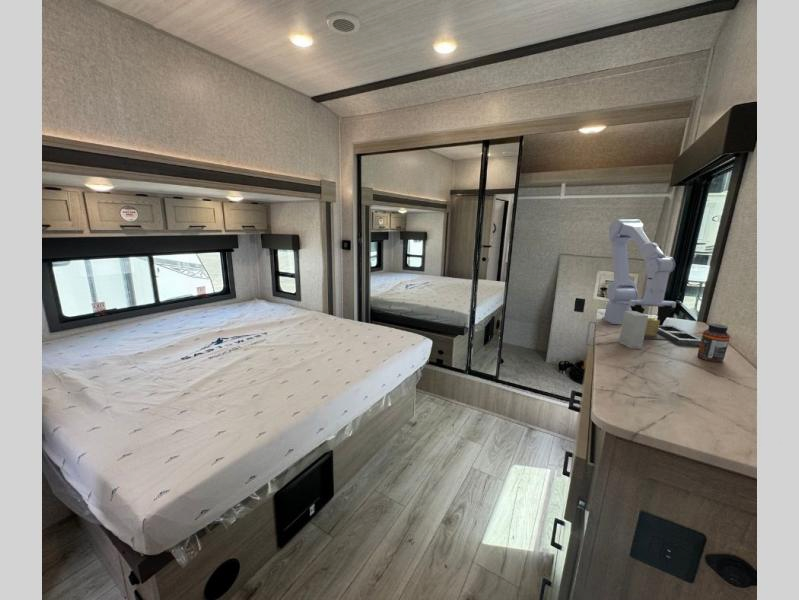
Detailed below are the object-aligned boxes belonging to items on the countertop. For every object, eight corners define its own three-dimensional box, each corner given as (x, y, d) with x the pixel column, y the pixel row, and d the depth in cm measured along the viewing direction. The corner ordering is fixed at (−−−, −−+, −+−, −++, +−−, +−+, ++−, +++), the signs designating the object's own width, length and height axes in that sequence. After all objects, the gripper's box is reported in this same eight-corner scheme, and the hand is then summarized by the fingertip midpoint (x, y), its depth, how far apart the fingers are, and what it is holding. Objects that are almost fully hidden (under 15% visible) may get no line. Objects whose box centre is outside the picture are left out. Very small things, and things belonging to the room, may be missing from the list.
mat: (626, 330, 122) (626, 329, 122) (651, 331, 121) (651, 330, 121) (639, 338, 114) (639, 337, 114) (666, 340, 112) (666, 339, 112)
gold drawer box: (636, 332, 120) (639, 315, 118) (649, 332, 119) (652, 316, 117) (643, 336, 115) (646, 319, 114) (656, 336, 115) (660, 319, 113)
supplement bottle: (693, 353, 101) (701, 321, 98) (716, 356, 99) (725, 323, 96) (702, 361, 95) (711, 327, 93) (727, 364, 93) (737, 329, 90)
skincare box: (642, 348, 105) (649, 315, 102) (629, 348, 105) (636, 315, 102) (629, 342, 111) (635, 310, 108) (617, 342, 111) (623, 310, 108)
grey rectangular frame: (649, 329, 124) (650, 324, 124) (671, 330, 123) (672, 325, 122) (678, 345, 108) (679, 339, 107) (704, 346, 106) (705, 341, 106)
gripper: (639, 291, 110) (632, 326, 114) (685, 292, 108) (676, 328, 111) (628, 287, 117) (622, 321, 120) (671, 288, 115) (664, 322, 118)
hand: (648, 324), depth 116 cm, fingers open, 7 cm apart
